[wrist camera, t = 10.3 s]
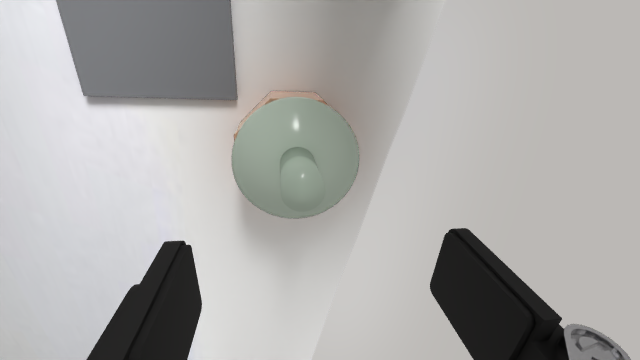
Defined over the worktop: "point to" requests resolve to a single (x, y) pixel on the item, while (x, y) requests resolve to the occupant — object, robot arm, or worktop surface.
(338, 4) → the worktop surface
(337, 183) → the lid
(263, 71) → the worktop surface
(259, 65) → the worktop surface
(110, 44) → the mat
